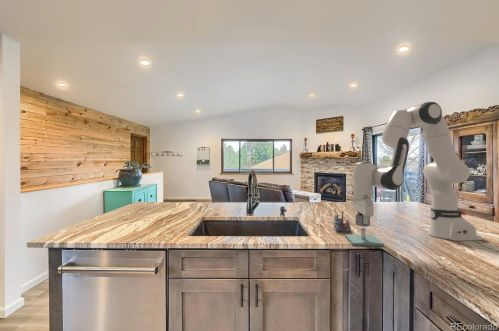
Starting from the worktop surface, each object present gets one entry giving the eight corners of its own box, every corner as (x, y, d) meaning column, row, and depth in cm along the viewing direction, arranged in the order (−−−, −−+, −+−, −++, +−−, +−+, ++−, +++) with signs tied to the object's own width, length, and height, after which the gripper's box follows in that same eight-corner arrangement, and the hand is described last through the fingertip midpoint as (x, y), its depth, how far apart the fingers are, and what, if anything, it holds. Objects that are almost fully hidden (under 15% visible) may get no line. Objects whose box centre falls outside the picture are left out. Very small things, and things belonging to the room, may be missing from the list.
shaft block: (373, 237, 134) (372, 225, 134) (383, 246, 120) (383, 233, 120) (345, 236, 136) (345, 225, 136) (352, 245, 122) (352, 232, 122)
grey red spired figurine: (356, 229, 141) (341, 211, 143) (339, 240, 144) (325, 222, 146) (354, 224, 152) (341, 207, 154) (338, 234, 155) (326, 218, 157)
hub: (366, 223, 131) (367, 213, 131) (371, 226, 125) (371, 216, 125) (354, 223, 131) (354, 213, 131) (358, 226, 125) (358, 216, 125)
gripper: (377, 196, 117) (377, 227, 117) (363, 191, 137) (362, 217, 138) (363, 196, 118) (362, 226, 118) (350, 191, 138) (350, 217, 138)
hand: (362, 221), depth 128 cm, fingers closed on hub, 6 cm apart
